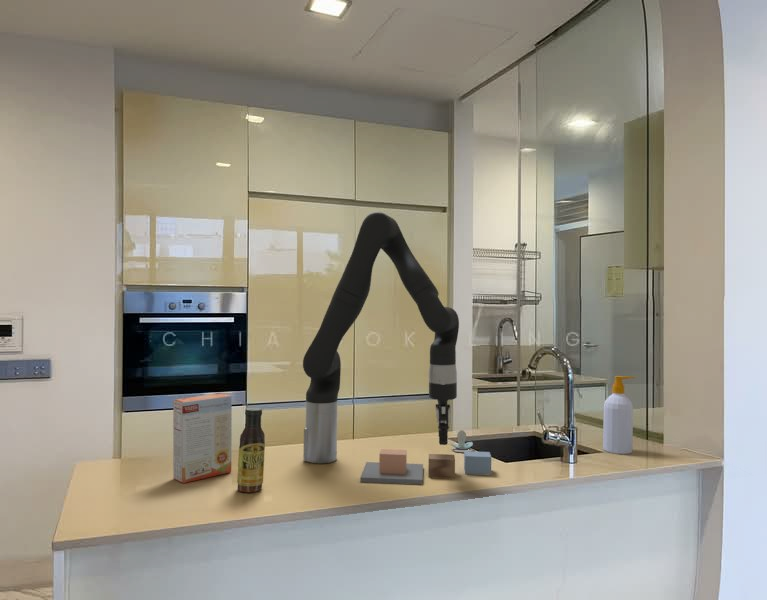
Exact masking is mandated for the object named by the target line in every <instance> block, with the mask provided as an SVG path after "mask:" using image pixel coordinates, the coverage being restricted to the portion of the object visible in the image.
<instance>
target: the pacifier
mask: <svg viewBox="0 0 767 600" xmlns="http://www.w3.org/2000/svg"><path fill="white" fill-rule="evenodd" d="M456 437H457V439H458V440H457V441H458V442H457V443H458V444H454V443H451V442H450V443H449V444H450V445H451V446H452V447H453V448H454V449H453V452H456V453H461V454H462V453H463V454H464V451H472V452H474V449H473V448H471V447H473V445H474V443H473V442H472V441H468V442H466V439H467V433H466V431H464V430H463V429H462V430H459V431H457V433H456ZM465 442H466V443H465ZM468 449H469V450H468Z"/></svg>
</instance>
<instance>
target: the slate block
mask: <svg viewBox="0 0 767 600" xmlns="http://www.w3.org/2000/svg"><path fill="white" fill-rule="evenodd" d="M463 457H464V458H463V459H464V460H463V470H464V473H465V475H478V474H489V475H488V476H491V475H492V455H491V452H490V451H464V453H463Z"/></svg>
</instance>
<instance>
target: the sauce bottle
mask: <svg viewBox="0 0 767 600" xmlns="http://www.w3.org/2000/svg"><path fill="white" fill-rule="evenodd" d="M244 414H245V415H244V416H245V424H244V425H245V426H244V428H243V430H242V433H241V434H240V438H239V446H238V462H237V476H236V477H237V479H236V483H237V491H239V492H241V493H255V492H259V491H261V490H262V488H263V484H264V471H265V452H266V451H265V449H266V443H265V442H266V441H265V439H266V438H265V433H264V431H263V428H262V415H263V409H262V408H261V407H260V408H259V407H247V408H245V411H244Z"/></svg>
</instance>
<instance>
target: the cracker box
mask: <svg viewBox="0 0 767 600" xmlns="http://www.w3.org/2000/svg"><path fill="white" fill-rule="evenodd" d="M232 398H233V397H232V395H229V394H225V393H217V394H215V393H214V394H206V395H197V396H190V397H184V398H177V399H175V398H174V399H173V402H172V403H173V407H172V408H173V410H172V411H173V415H172V416H173V420H172V421H173V422H172V423H173V425H172V426H173V428H172V429H173V430H172V432H173V435H172V436H173V448H172V449H173V451H172V454H173V463H172V464H173V467H172V469H173V476H172V477H173V479H174V480H176V481H177V482H179V483H182V484H187V483H191V482H195V481H200V480H202V479H208V478H211V477H212V478H213V477H216V476H220V475H225V474H229V473H231V472H232V440H233V439H232V435H233V434H232V424H233V423H232V419H233V418H232V415H233V414H232V400H233V399H232Z"/></svg>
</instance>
